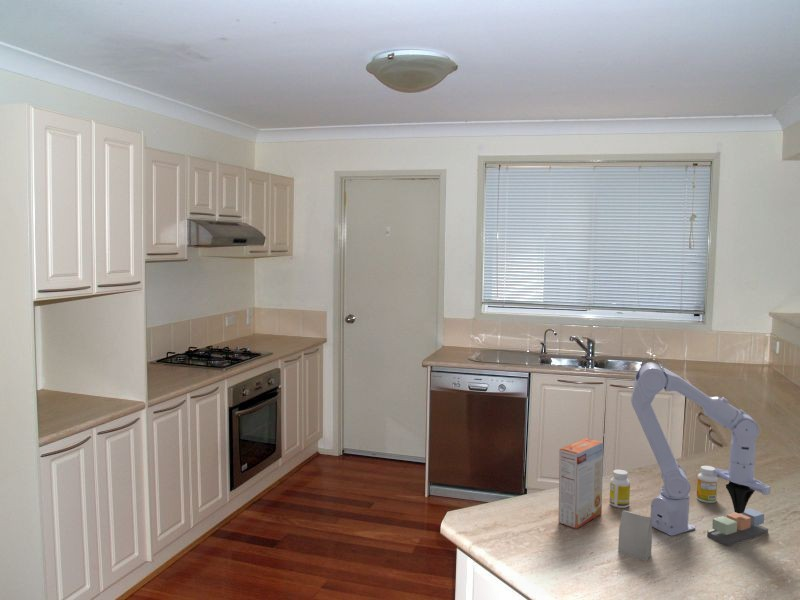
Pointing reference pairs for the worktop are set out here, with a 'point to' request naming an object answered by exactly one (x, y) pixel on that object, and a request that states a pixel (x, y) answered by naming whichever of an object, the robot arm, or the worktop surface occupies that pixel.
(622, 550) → the grey rectangular block
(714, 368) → the worktop surface
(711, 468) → the supplement bottle
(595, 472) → the cracker box
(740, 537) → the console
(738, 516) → the terracotta key
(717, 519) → the sage key
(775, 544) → the worktop surface
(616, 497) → the supplement bottle
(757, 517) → the light blue square block
